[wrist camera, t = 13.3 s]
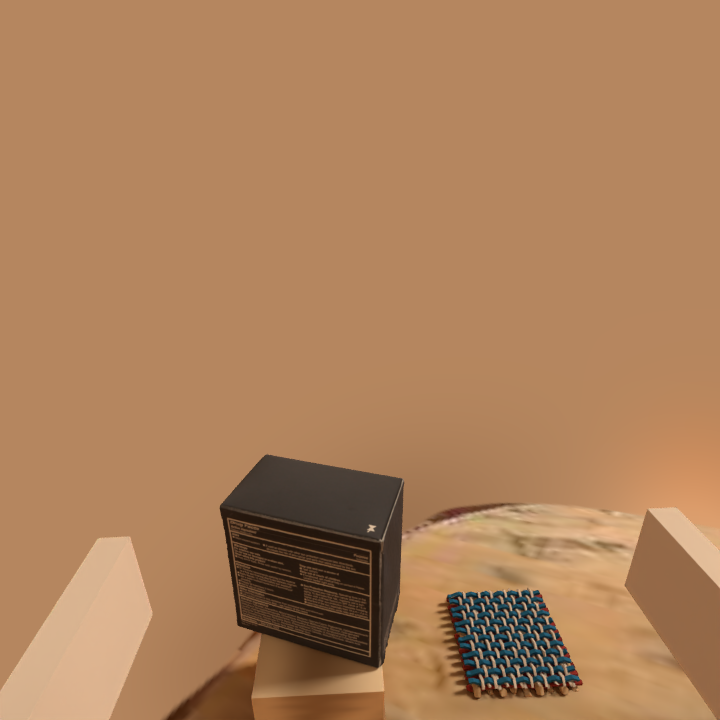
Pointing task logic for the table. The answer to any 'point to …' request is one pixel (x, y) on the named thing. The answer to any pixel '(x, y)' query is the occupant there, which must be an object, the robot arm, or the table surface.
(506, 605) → the woven mat
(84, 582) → the robot arm
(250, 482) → the small box
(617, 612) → the table surface
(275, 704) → the tower top
